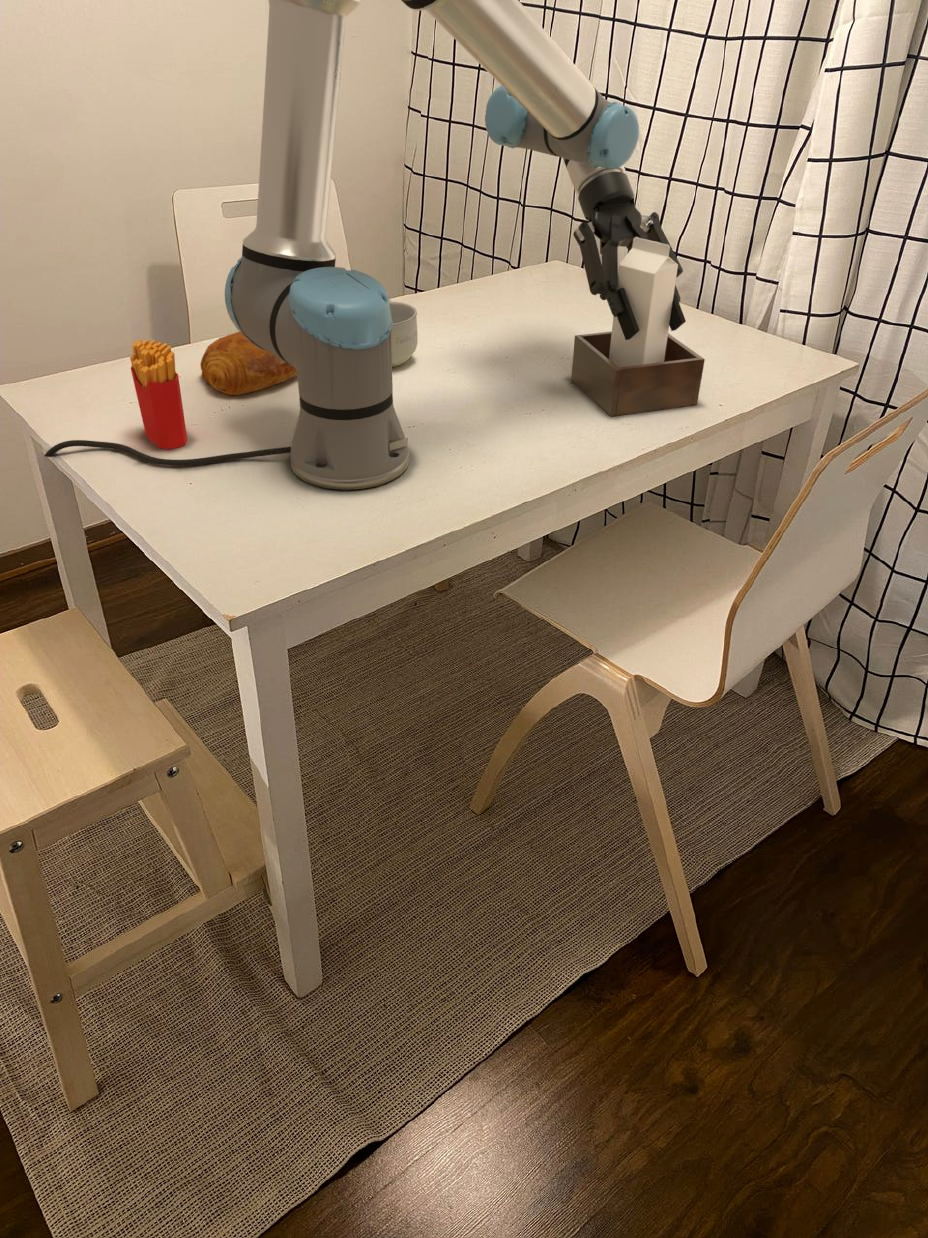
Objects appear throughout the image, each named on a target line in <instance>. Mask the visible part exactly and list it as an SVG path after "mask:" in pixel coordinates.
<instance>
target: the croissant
mask: <svg viewBox="0 0 928 1238" xmlns="http://www.w3.org/2000/svg"><path fill="white" fill-rule="evenodd" d="M199 365H200V370H201V377H202V379H204V380H205V381H206V383H207V384H210V386H211V387H212V388H213V389H215V390H216V391H219V392H222V393H223V394H226V395H229V396H230V395H231V396H240V395H245V394H248V393H253V392H256V391H257V392H258V391H260V390H263V389H267V388H269V387H272V386H275V385H277V384H279V383H282V382H284V381H286V380H289V379H291V378H292V377H294V376H296V375H297V370H296V368H294V367H293V366H291V365H289V364H288V363H286V362H284V361H283V360H281V359H279V358H278V357H276V356H274V355H273V354H271V353H269V352H268V351H266V350H263V349H260V348H259V347H257V346H255V345H254V344H253V343H251V342H250V340H249V339H247V338H246V337H245V336H244V335H243V334H242V333H241V332H240V331H239V330H238V331H237V332H234V333H231V334H227V335H225V336H222V337H220V338H218V339H216V340H215V341H213V342H211V343H210V344H209V345H208V346H207V347H206V349H205V351H204V353H203V355H202V357H201V361H200V364H199Z"/></svg>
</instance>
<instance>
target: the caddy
mask: <svg viewBox="0 0 928 1238" xmlns="http://www.w3.org/2000/svg"><path fill="white" fill-rule="evenodd" d="M611 334H612V330H610V331H602V332H594V333H585V334H575V335H574V340H573V342H574V343H573V354H572V363H571V364H572V365H571V376H570V380H571V381H572V382H573V383H574V384H575V385H577V387H578V388H580V390H582V391H583V392H584V393H585V394H586V395H587V396H588V397H589V398H590V399H591V400H592V401H594V402H595V404H597V405H598V406H599V407H600V408H601V409H602V410H603V411H604V412H605V413H606V414H608V416H609V417H618V416H624V415H632V414H637V413H638V414H639V413H646V412H647V413H648V412H653V411H661V410H668V409H676V408H677V409H678V408H683V407H691V406H697V405H698V401H699V395H700V391H701V383H702V379H703V372H704V367H705V358H704V357H703V356H702V355H700V354H698V353H697V352H695V351H694V350H692V349H691V348H690V347H688V346H687V345H686V344H684V343H682V342H681V341H680V340H679V339H677V338H676V337H674V336H673V335H671V334H670V333H669V332H668V337H667V344H666V351H665V358H664V362H659V363H651V364H643V365H635V366H627V367H619V368H618V367H617V366H616V365H615V364H614V363H612V362H611V361H610V360H609V353H610V343H611Z"/></svg>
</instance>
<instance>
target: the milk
mask: <svg viewBox="0 0 928 1238" xmlns="http://www.w3.org/2000/svg"><path fill="white" fill-rule="evenodd" d="M670 246H671V245H670ZM670 246H669V245H667V244H663V243H659V242H655V241H650V240H646V239H642V238H638V237H635V238H634V239H633V245H632V249H631V250H630V251H629V250H628V253H627V254H626V255H625V256H624V257H623V259H622V260H621V261H620V263H618V288H617V291H618V290H619V289H620V288H624V289H625V292H626V295H627V297H628V300H629V303H630V305H631V308H632V311H633V313H634V316H635V319H636V321H637V324H638V327H639V330H640V331H639V332H637V333H636V334H635V335H634V336H633V337H632V338H631V339H629V340H625V337H624V334H623V332H622V329H621V326H620V323H619V321H618V318H617V317H614V316H613V315H612V317H613V318H612V326H611V331H612V334H611V343H610V353H609V360H610V361H611V362H612V363H614V364H615V365H616V366H617V367H618V368H619V367H627V366H635V365H643V364H651V363H659V362H664V358H665V351H666V344H667V337H668V333H669V330H670V326H669V323H670V316H671V310H672V303H673V296H674V289H675V285H676V281H677V278H676V275H677V268H678V264H677V263H675V262H674V261H673V260H672V259H671V258H670V257H669V250H670Z"/></svg>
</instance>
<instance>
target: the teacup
mask: <svg viewBox="0 0 928 1238" xmlns="http://www.w3.org/2000/svg"><path fill="white" fill-rule="evenodd" d="M389 304H390V311H391V317H392V327H391V349H392V368H393V367H397V366H398V367H399V366H401V365H403V364H404V363H406V361H407V360H408V359H409V358H411V356H413V354H414V353H415V352H416V350H417V346H418V321H417V319H418V317H417V316H418V310H417V308H416V307H415V306H413V305H412V304H409V303H406V302H401V301H400V302H399V301H392V300H391V298H389Z"/></svg>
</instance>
